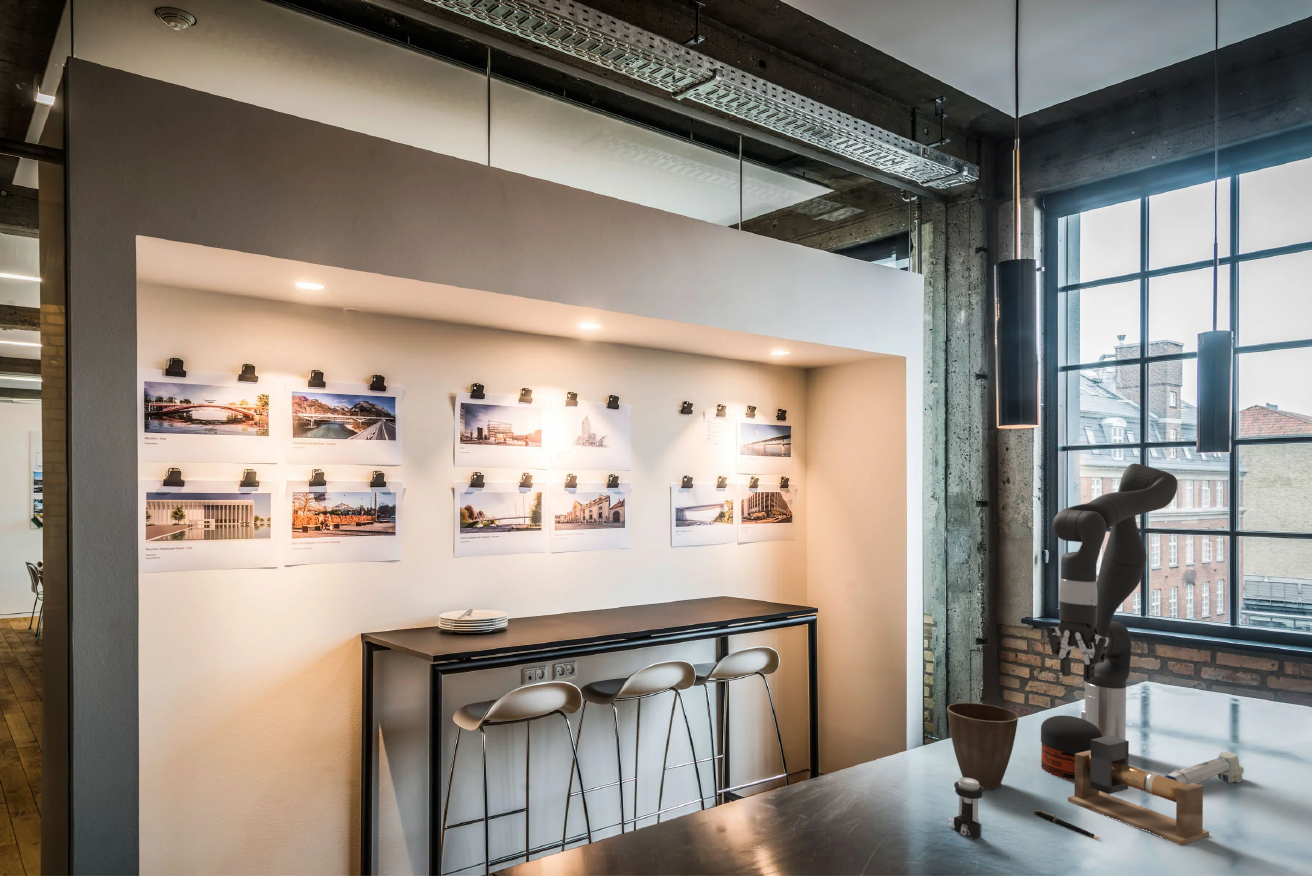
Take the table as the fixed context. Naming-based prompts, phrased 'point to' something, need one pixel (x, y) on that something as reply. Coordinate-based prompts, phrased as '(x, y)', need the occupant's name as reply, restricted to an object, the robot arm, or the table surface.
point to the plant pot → (982, 740)
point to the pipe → (1142, 780)
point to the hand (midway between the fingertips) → (1077, 678)
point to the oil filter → (1065, 743)
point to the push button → (968, 807)
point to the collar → (1107, 763)
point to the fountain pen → (1063, 823)
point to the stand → (1175, 830)
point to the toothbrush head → (1211, 770)
